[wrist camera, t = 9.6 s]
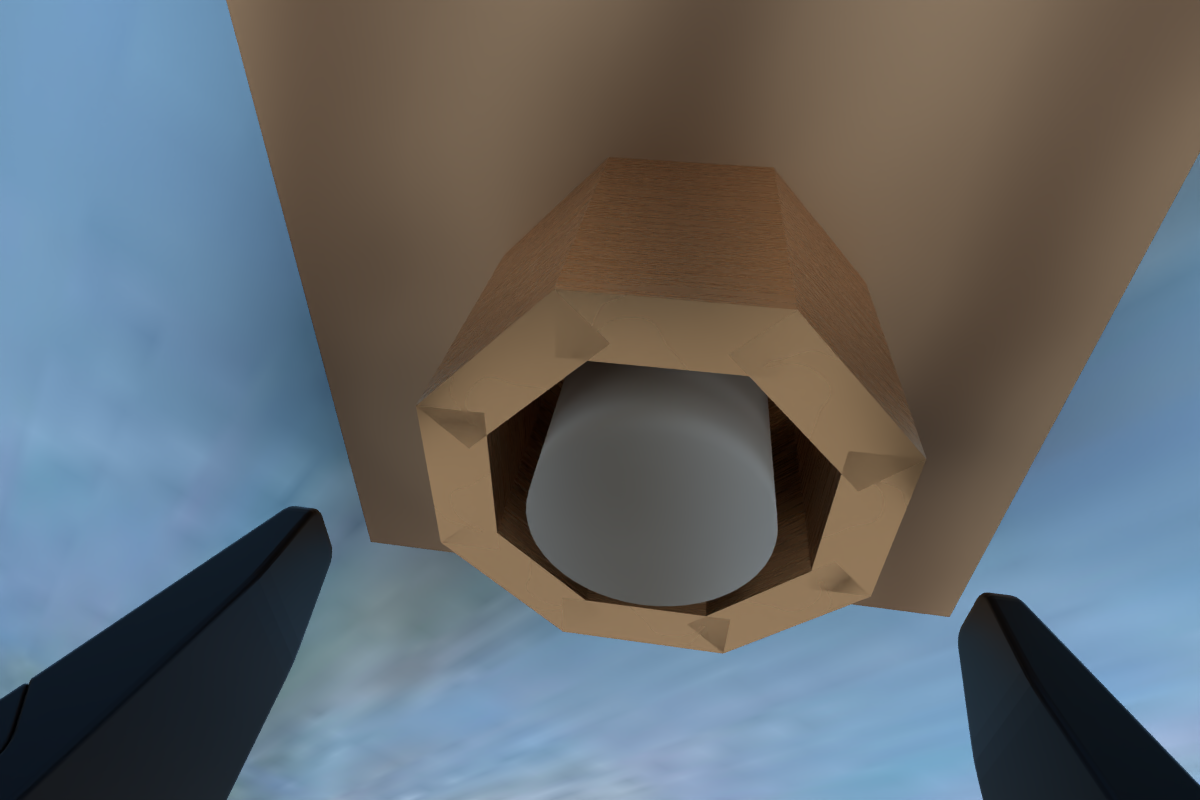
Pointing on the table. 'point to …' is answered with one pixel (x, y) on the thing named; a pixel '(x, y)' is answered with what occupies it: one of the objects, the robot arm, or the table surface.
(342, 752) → the table surface
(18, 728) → the robot arm
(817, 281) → the brown octagonal cup
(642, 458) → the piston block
